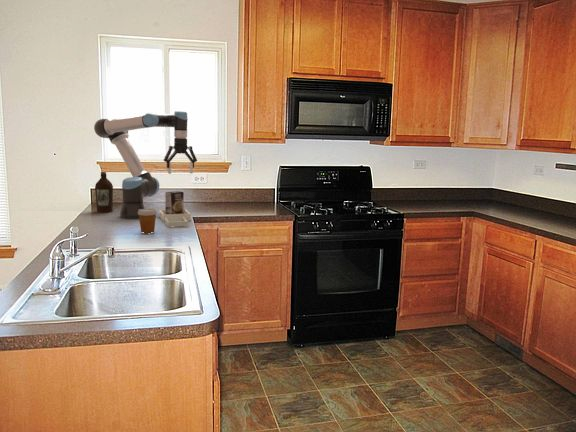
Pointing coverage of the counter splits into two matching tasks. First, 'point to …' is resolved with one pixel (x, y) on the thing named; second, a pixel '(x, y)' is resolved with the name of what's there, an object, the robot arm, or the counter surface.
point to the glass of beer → (147, 220)
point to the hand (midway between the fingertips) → (180, 173)
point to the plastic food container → (174, 215)
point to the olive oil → (104, 194)
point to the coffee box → (174, 202)
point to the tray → (176, 221)
